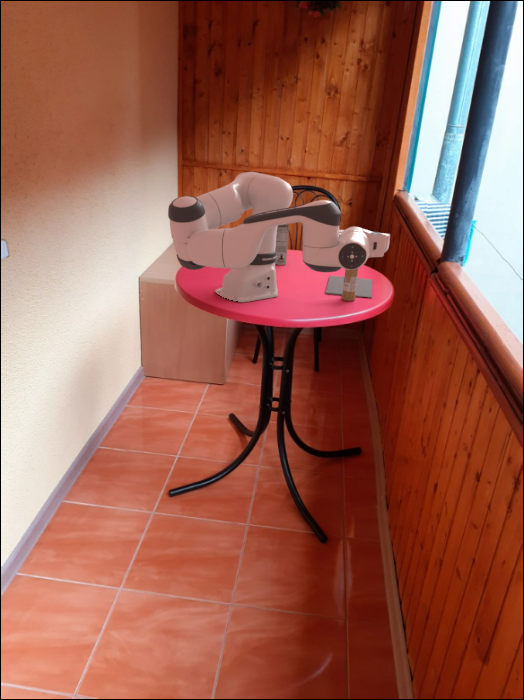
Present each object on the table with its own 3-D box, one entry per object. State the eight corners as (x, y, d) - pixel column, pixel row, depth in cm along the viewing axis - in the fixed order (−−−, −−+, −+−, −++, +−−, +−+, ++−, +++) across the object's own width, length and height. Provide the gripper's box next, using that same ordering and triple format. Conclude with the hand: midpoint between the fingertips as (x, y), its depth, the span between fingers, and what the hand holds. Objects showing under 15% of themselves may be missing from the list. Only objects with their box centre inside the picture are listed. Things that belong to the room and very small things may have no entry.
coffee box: (270, 258, 238) (272, 220, 232) (286, 259, 239) (288, 221, 232) (270, 264, 230) (272, 224, 224) (286, 265, 230) (289, 225, 224)
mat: (371, 298, 195) (372, 297, 195) (325, 293, 198) (325, 292, 197) (372, 280, 215) (372, 279, 215) (329, 276, 217) (330, 275, 217)
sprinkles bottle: (339, 297, 194) (343, 259, 189) (350, 296, 196) (354, 258, 191) (345, 302, 190) (350, 263, 185) (357, 300, 192) (362, 262, 187)
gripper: (316, 250, 163) (320, 240, 175) (388, 257, 160) (387, 246, 172) (318, 228, 160) (322, 220, 173) (391, 235, 157) (390, 225, 170)
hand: (355, 233), depth 172 cm, fingers closed
